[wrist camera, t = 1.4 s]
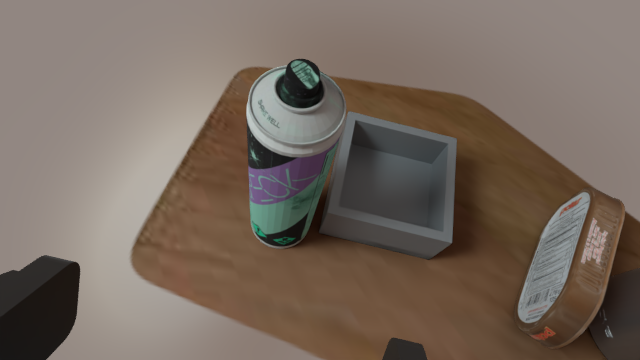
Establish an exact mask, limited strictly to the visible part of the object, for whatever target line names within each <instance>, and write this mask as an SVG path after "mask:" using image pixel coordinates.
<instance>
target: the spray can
mask: <svg viewBox="0 0 640 360" xmlns="http://www.w3.org/2000/svg"><path fill="white" fill-rule="evenodd" d="M246 113H247V139H248V165H249V191H250V216H251V226H252V229H253V232H254V234H255V235H256V237H257V238H258V239H259V240H260V241H261V242H262V243H264V244H265V245H267V246H269V247H272V248H277V249H284V248H289V247H292V246H295V245H296V244H298V243H299V242H300V241H301V240H302V239H303V238H304V237H305V236H306V234H307V232H308V230H309V227H310V225H311V222H312V219H313V216H314V213H315V210H316V207H317V204H318V201H319V198H320V195H321V192H322V189H323V186H324V183H325V181H326V178H327V175H328V172H329V169H330V166H331V163H332V160H333V157H334V154H335V151H336V148H337V145H338V142H339V139H340V136H341V134H342V131H343V128H344V123H345V114H346V101H345V98H344V95H343V93H342V91H341V89H340V87H339V86H338V85H337V84H336V83H335V82H334V81H333V80H332V79H331V78H330V77H329V76H327V75H326V74H324V73H322V72H320V71H319V69H318V67H317V66H316V65H315V64H314V63H313V62H310V61H309V60H306V59H296V60H293V61H291V62H290V63H289V64H288V65H287V66H281V67H276V68H274V69H271V70H269V71H267V72H266V73H264V74H263V75H261V76H260V77H259V78H258V79H257V80H256V81H255V83H254V84H253V86H252V87H251V90H250V93H249V98H248V103H247V112H246Z"/></svg>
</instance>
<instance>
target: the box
mask: <svg viewBox="0 0 640 360" xmlns="http://www.w3.org/2000/svg"><path fill="white" fill-rule="evenodd" d="M456 145H457V139H456V138H452V137H448V136H444V135H440V134H436V133H432V132H428V131H425V130H421V129H417V128H413V127H409V126H405V125H401V124H397V123H393V122H389V121H385V120H381V119H377V118H373V117H370V116H366V115H362V114H358V113H354V112H350V111H349V112H348V115H347V117H346V120H345V123H344V128H343V131H342V134H341V136H340V139H339V142H338V146H337V151H336V156H335V160H334V165H333V170H332V174H331V179H330V183H329V188H328V193H327V197H326V202H325V207H324V211H323V216H322V220H321V225H320V230H319V233H321V234H325V235H330V236H334V237H338V238H342V239H346V240H350V241H354V242H358V243H362V244H366V245H371V246H375V247H379V248H383V249H387V250H391V251H395V252H399V253H403V254H407V255H412V256H416V257H420V258H424V259H428V260H429V259H431V258H432V257H433V256H435V255H436V254H438V253H439V252H440V251H442V250H443V249H445V248H446V247H447V246H449V245H450V244H452V235H453V212H454V190H455V167H456Z"/></svg>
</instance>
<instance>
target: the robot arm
mask: <svg viewBox="0 0 640 360" xmlns="http://www.w3.org/2000/svg"><path fill="white" fill-rule="evenodd" d="M79 279H80V266H79V264H78V263H77V262H73V261H68V260H64V259H60V258H56V257H51V256H47V255H44V256H41V257H39V258H38V259H36V260H35V261H33V262H32V263H30V264H29V265H27V266H26V267H24V268H23V269H21V270H20V271H15V270H12V271H9V272H6V273H3V274H1V275H0V360H46V359H47V358H48V357H49V356H50V355H51V354H52V353H53V352H54V351H55V350H56V349H57V348H58V347H59V346H60V345H61V343H62V342H63V341H64V340H65V339H66V338H67V336H68V335H69V333H70V331H71V330H72V327H73V325H74V323H75V319H76V315H77V304H78V292H79ZM588 327H589V329H590V332H591V335H592V337H593V339H594V341H595V343H596V344H597V346H598V348H599V349H600V351H601V352H602V353H603V354H604V356H605V357H606V358H607V359H608V360H640V268H638V269H634V270H631V271H628V272H624V273H621V274H618V275H614V276H611V277H609V281H608V285H607V289H606V293H605V296H604V299H603V302H602V304H601V306H600V308H599V310H598V312H597V314H596V316H595V317H594V319H593V320H592V322H591V323H590V325H589V326H588ZM382 360H427V357H426V354H425V351H424V348H423V346H422V345H421V344H419V343H414V342H410V341H406V340H402V339H397V338H391V339H390V341H389V343H388V345H387V348H386V351H385V354H384V356H383V359H382Z"/></svg>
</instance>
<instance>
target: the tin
mask: <svg viewBox="0 0 640 360" xmlns="http://www.w3.org/2000/svg"><path fill="white" fill-rule="evenodd" d="M624 218H625V207H624V204H623V203H622V202H621V201H620V200H619V199H616V198H612V197H610V196H608V195H606V194H604V193H602V192H600V191H598V190H596V189H593V188H584V189H583V190H581V191H580V192H578V193H577V194H575V195H574V196H572V197H571V198H570V199H568V200H567V201H565V202H564V203H562V204H561V205H560V206H559V207H558V208H557V209H556V211H555V212H554V213H553V214H552V216H551V217H550V219H549V220H548V222H547V223H546V225H545V227H544V229H543V231H542V233H541V235H540V237H539V240H538V242H537V245H536V248H535V250H534V253H533V256H532V258H531V261H530V264H529V266H528V269H527V272H526V275H525V277H524V280H523V283H522V286H521V288H520V291H519V294H518V297H517V300H516V304H515V309H514V319H515V323H516V325H517V326H518V328H519V329H520V330H522V331H523V332H524V333H526V334H527V335H529V336H530V337H532V338H534V339H535V340H537V341H539V342H540V343H541V344H542V345H543V346H544V347H546V348H549V349H558V348H561V347H564V346H566V345H568V344H570V343H571V342H573V341H574V340H575V339H576V338H578V337H579V336H580V335H581V334H582V333H583V332H584V331H585V330H586V328H587V327H588V326H589V325H590V323H591V322H592V320H593V319H594V317H595V316H596V314H597V312H598V310H599V308H600V306H601V304H602V302H603V299H604V296H605V293H606V289H607V285H608V281H609V277H610V273H611V269H612V265H613V261H614V257H615V253H616V249H617V245H618V241H619V238H620V234H621V230H622V226H623V223H624Z"/></svg>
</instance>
